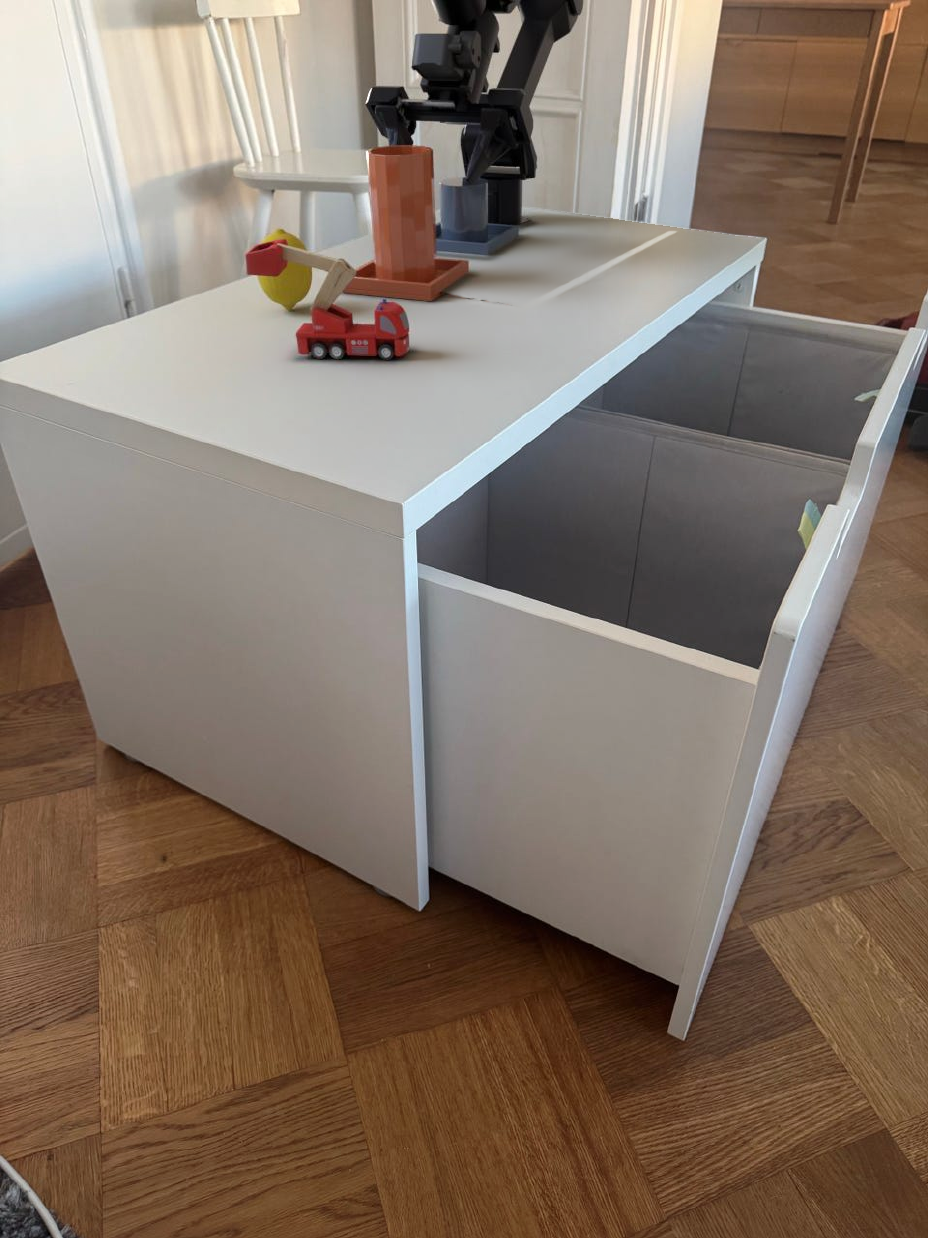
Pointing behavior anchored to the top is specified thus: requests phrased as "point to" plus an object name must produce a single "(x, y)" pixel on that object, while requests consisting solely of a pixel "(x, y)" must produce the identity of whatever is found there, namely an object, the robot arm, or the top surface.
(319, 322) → the toy fire truck
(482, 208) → the blue-grey drinking cup
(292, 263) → the lemon
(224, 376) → the top surface
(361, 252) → the top surface
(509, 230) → the slate tray
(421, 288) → the terracotta tray
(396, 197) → the terracotta cup
